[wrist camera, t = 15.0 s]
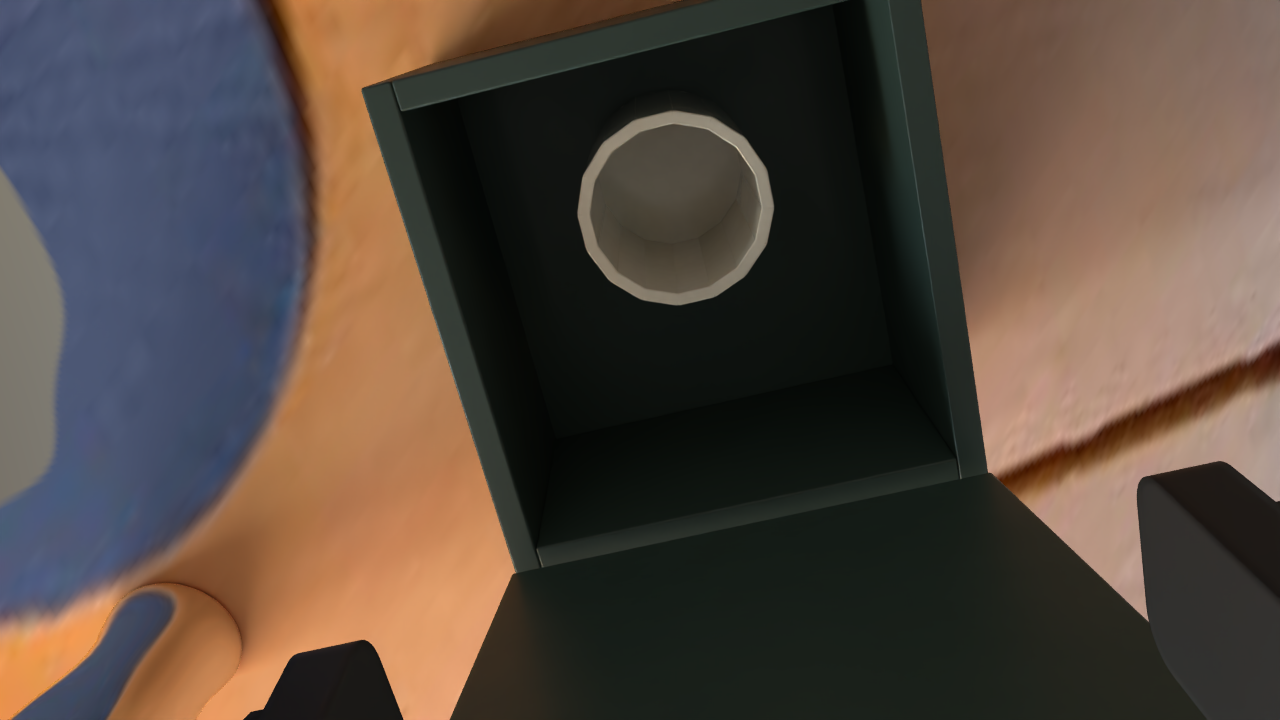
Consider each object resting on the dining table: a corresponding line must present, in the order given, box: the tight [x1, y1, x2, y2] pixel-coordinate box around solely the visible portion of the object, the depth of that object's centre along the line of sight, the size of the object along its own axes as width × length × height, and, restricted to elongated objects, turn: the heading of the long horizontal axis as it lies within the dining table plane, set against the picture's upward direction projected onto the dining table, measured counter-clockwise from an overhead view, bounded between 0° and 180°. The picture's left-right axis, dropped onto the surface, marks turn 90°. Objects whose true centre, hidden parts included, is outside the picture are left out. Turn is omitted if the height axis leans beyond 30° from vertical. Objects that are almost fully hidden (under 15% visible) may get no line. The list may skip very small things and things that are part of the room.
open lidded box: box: [362, 0, 988, 573], centre depth 36 cm, size 16×16×10 cm
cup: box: [577, 90, 774, 305], centre depth 36 cm, size 6×6×8 cm
